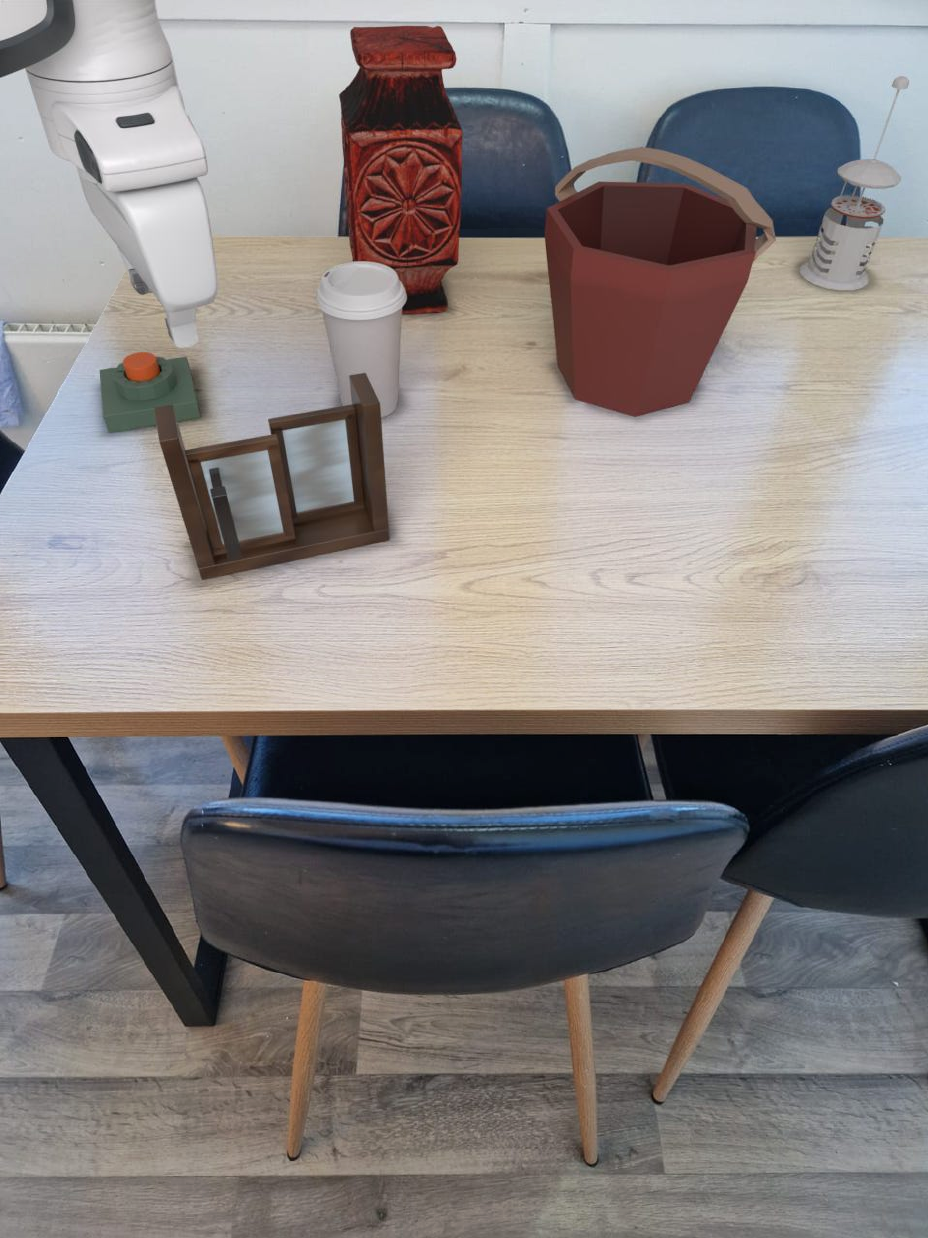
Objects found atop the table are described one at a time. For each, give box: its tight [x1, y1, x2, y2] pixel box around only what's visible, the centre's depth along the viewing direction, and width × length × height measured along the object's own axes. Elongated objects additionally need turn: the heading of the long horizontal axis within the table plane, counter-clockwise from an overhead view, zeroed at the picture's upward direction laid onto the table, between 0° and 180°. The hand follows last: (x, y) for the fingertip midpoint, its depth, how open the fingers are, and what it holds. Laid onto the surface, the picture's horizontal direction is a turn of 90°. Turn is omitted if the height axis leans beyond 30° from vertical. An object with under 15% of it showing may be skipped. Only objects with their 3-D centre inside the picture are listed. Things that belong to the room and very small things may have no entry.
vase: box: [338, 25, 463, 316], centre depth 104 cm, size 14×14×30 cm
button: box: [122, 351, 160, 382], centre depth 93 cm, size 4×4×2 cm
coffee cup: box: [315, 261, 407, 419], centre depth 91 cm, size 10×10×15 cm
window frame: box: [154, 373, 390, 581], centre depth 75 cm, size 18×5×16 cm, turn 109°
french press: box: [799, 75, 910, 291], centre depth 113 cm, size 10×12×25 cm
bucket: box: [544, 146, 777, 418], centre depth 92 cm, size 24×22×25 cm
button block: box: [99, 356, 202, 434], centre depth 95 cm, size 10×10×4 cm
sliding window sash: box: [185, 434, 296, 560], centre depth 72 cm, size 8×5×11 cm
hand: (164, 315), depth 64 cm, fingers open, 8 cm apart
